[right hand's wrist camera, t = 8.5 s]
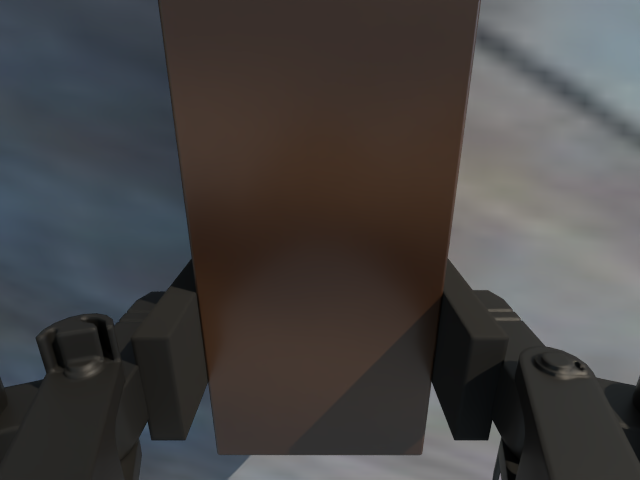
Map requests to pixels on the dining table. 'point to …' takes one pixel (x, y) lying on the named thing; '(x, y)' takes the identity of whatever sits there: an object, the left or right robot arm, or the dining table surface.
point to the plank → (319, 210)
